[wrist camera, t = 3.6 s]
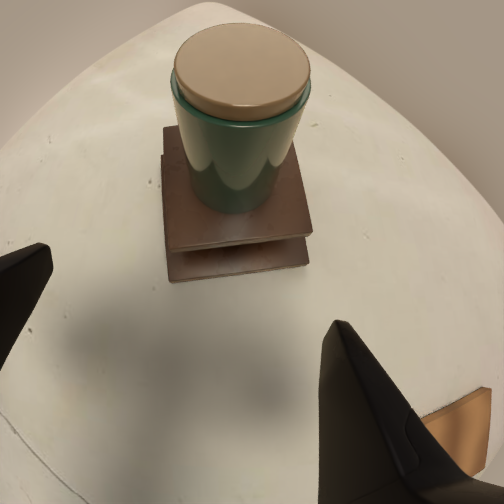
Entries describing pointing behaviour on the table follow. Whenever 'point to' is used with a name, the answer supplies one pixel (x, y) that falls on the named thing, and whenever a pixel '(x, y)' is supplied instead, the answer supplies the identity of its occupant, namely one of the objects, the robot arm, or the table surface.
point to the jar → (238, 111)
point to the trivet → (464, 429)
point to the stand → (230, 224)
